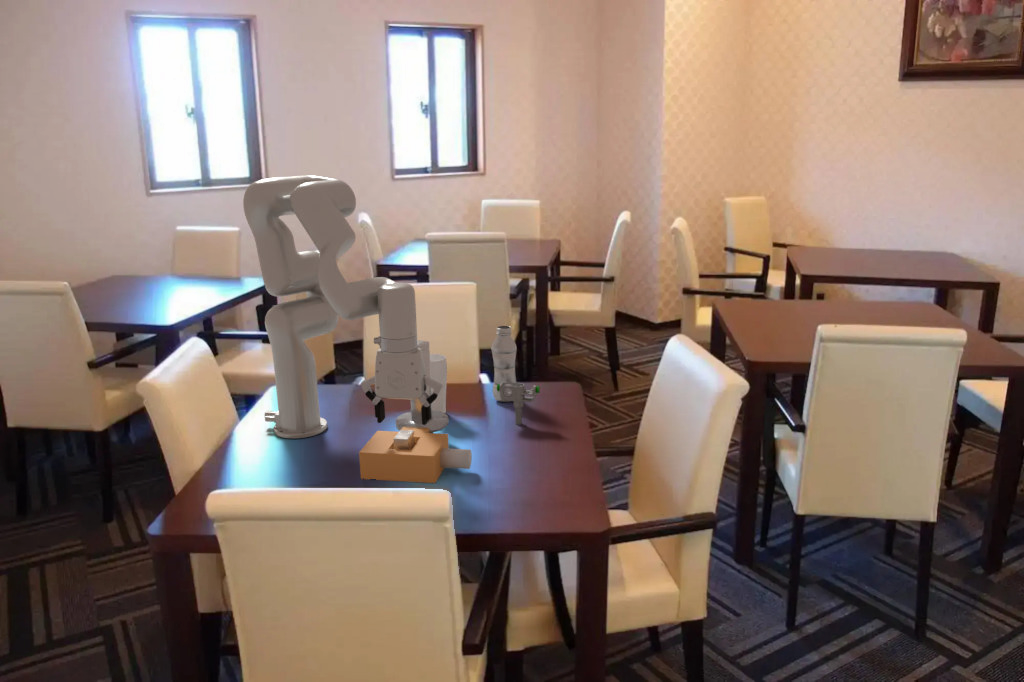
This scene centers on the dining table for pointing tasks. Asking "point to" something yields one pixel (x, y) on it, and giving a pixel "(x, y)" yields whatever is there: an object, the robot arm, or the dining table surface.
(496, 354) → the plastic bottle
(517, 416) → the mechanical component
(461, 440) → the dining table surface
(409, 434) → the white block
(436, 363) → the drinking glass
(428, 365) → the post
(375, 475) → the bracket head
